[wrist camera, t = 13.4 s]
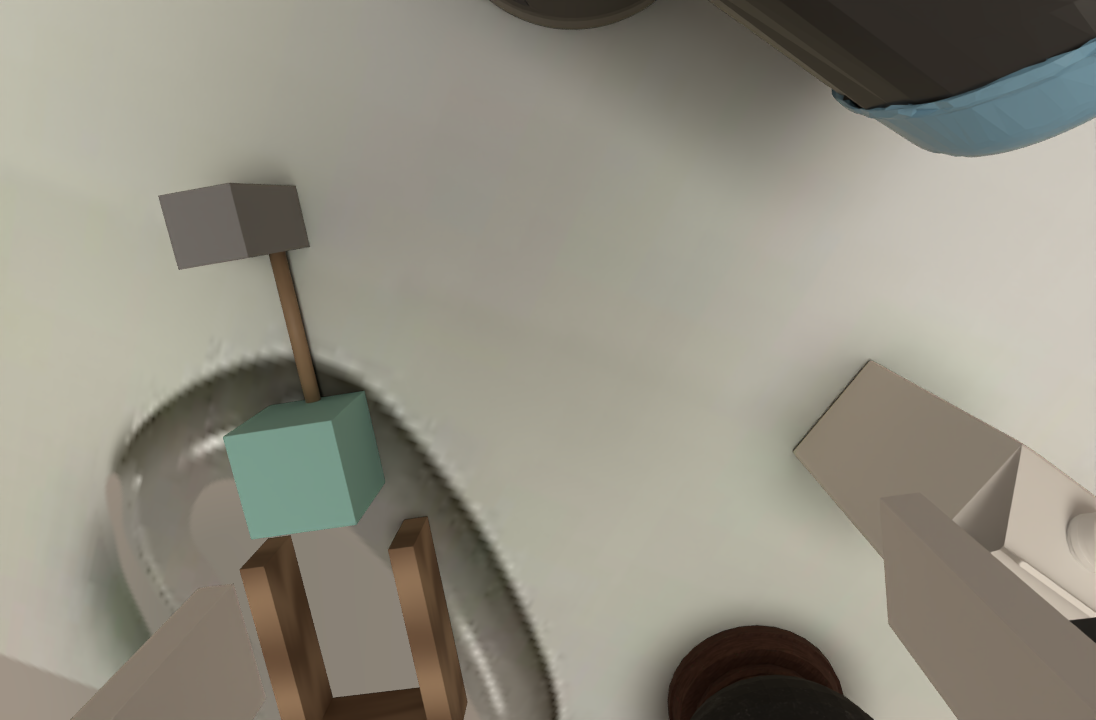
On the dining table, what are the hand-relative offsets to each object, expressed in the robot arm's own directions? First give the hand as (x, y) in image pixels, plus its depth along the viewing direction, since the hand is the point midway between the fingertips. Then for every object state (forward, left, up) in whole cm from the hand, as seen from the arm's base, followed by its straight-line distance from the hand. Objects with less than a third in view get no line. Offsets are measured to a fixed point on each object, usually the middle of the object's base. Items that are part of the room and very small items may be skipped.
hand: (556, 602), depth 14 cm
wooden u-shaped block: (+16, -16, -29) cm, 37 cm away
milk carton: (+9, +17, -29) cm, 35 cm away
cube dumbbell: (-2, -16, -29) cm, 33 cm away
